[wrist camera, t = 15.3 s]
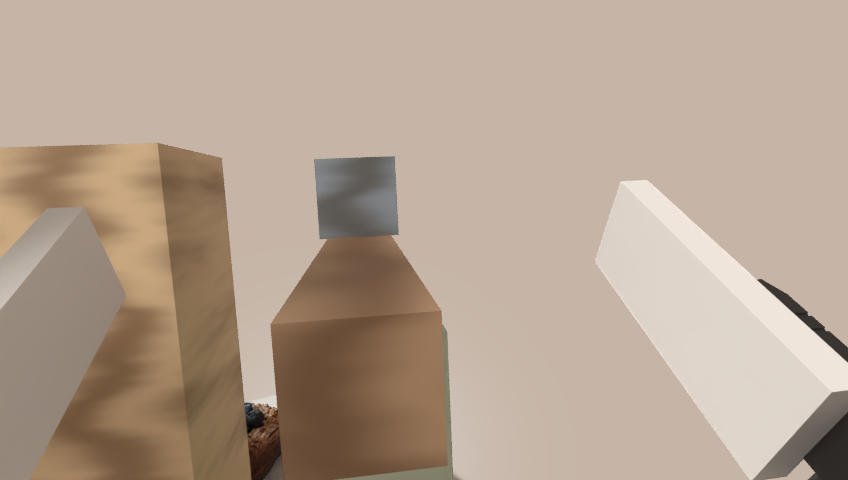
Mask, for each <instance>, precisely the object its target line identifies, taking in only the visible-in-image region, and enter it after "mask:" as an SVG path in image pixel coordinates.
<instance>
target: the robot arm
mask: <svg viewBox="0 0 848 480" xmlns="http://www.w3.org/2000/svg"><path fill="white" fill-rule="evenodd" d="M595 263H596V264H597V266H598V267H599V268H600V270H601V271H602V273H603V274H604V275H605V277H606V278H607V280H608V281H609V282H610V284H611V285H612V287H613V288H614V289H615V291H616V292H617V294H618V295H619V297H620V298H621V299H622V301H623V302H624V304H625V305H626V306H627V308H628V309H629V311H630V312H631V314H632V315H633V316H634V318H635V319H636V321H637V322H638V323H639V325H640V326H641V328H642V329H643V330H644V332H645V333H646V335H647V336H648V337H649V339H650V340H651V342H652V343H653V345H654V346H655V347H656V349H657V350H658V351H659V353H660V354H661V356H662V357H663V359H664V360H665V361H666V363H667V364H668V366H669V367H670V368H671V370H672V371H673V373H674V374H675V376H676V377H677V378H678V380H679V381H680V383H681V384H682V385H683V387H684V388H685V390H686V391H687V393H688V394H689V395H690V397H691V398H692V400H693V401H694V402H695V404H696V405H697V407H698V408H699V409H700V411H701V412H702V414H703V415H704V416H705V418H706V419H707V421H708V422H709V424H710V425H711V426H712V428H713V429H714V431H715V432H716V433H717V435H718V436H719V438H720V439H721V440H722V442H723V443H724V445H725V446H726V447H727V449H728V450H729V452H730V453H731V455H732V456H733V457H734V459H735V460H736V462H737V463H738V464H739V466H740V467H741V468H742V470H743V471H744V473H745V474H746V476H747V477H748V479H749V480H766V479H772V478H779V477H785V476H787V475H788V474H789V473H790V472H791V471H792V470H793V469H794V468H795V467H796V466H797V465H798V464H799V463H800V462H801V461H802V460H803V459H804V460H805V461H806V462H807V463H808V464H809V465H810V467H811V468H812V469H813V470H814V471H815V474H813V476H812V477H810V478H809V479H808V480H848V347H847V346H845V345H844V344H843V343H842V342H841V341H840V340H839V339H837V338H836V337H835V336H834V335H833V334H832V333H831V332H829V331H825V329H824V328H825V327H824V326H823V325H822V324H820V323H819V322H818V321H817V320H816V319H815V318H814V317H812V316H808V314H807V313H808V312H807V311H805V309H803V308H802V307H801V306H800V305H799V304H798V303H797V302H795V301H794V300H793V299H792V298H791V297H790V296H789V295H788V294H786V293H784V292H782V291H780V290H779V289H777V288H776V287H774V286H772V285H770V284H769V283H767V282H765V281H763V280H762V279H759V280H756V279H755V278H754V277H753V276H752V275H751V274H750V273H749V272H748V271H746V270H745V269H744V268H743V267H742V266H741V265H740V264H739V263H738V262H736V261H735V260H734V259H733V258H732V257H731V256H730V255H729V254H728V253H727V252H725V251H724V250H723V249H722V248H721V247H720V246H719V245H718V244H717V243H716V242H715V241H713V240H712V239H711V238H710V237H709V236H708V235H707V234H706V233H705V232H704V231H702V230H701V229H700V228H699V227H698V226H697V225H696V224H695V223H694V222H692V221H691V220H690V219H689V218H688V217H687V216H686V215H685V214H684V213H683V212H681V210H679V209H678V208H677V207H676V206H675V205H674V204H673V203H672V202H671V201H669V200H668V199H667V198H666V197H665V196H664V195H663V194H662V193H661V192H660V191H658V190H657V189H656V188H655V187H654V186H653V185H652V184H651V183H650V182H649V181H647V180H640V181H639V180H638V181H621V182H620V185H619V188H618V191H617V194H616V198H615V201H614V204H613V207H612V210H611V213H610V216H609V219H608V222H607V225H606V228H605V232H604V235H603V238H602V241H601V244H600V247H599V250H598V254H597V256H596V260H595ZM125 297H126V294H125V292H124V290H123V287H122V285H121V283H120V281H119V279H118V277H117V275H116V273H115V270H114V268H113V266H112V264H111V262H110V260H109V258H108V255H107V253H106V251H105V249H104V247H103V245H102V243H101V241H100V238H99V236H98V234H97V232H96V230H95V228H94V226H93V223H92V221H91V219H90V217H89V215H88V213H87V211H86V209H85V206H84V207H62V208H47V209H46V210H45V211H44V212H43V213H42V214H41V216H40V217H39V218H38V219H37V220H36V221H35V222H34V223H33V224H32V225H31V226H30V227H29V228H28V230H27V231H26V232H25V233H24V234H23V235H22V236H21V237H20V238H19V239H18V240H17V241H16V242H15V244H14V245H13V246H12V247H11V248H10V249H9V250H8V251H7V252H6V253H5V254H4V255H3V256H2V258H1V259H0V480H30V478H31V476H32V474H33V472H34V470H35V468H36V466H37V464H38V463H39V461H40V459H41V457H42V455H43V453H44V451H45V449H46V447H47V445H48V444H49V442H50V440H51V438H52V436H53V434H54V432H55V430H56V428H57V426H58V425H59V423H60V421H61V419H62V417H63V415H64V413H65V411H66V409H67V407H68V406H69V404H70V402H71V400H72V398H73V396H74V394H75V392H76V390H77V388H78V387H79V385H80V383H81V381H82V379H83V377H84V375H85V373H86V371H87V370H88V368H89V366H90V364H91V362H92V360H93V358H94V356H95V354H96V352H97V351H98V349H99V347H100V345H101V343H102V341H103V339H104V337H105V335H106V333H107V332H108V330H109V328H110V326H111V324H112V322H113V320H114V318H115V316H116V314H117V313H118V311H119V309H120V307H121V305H122V303H123V301H124V299H125Z"/></svg>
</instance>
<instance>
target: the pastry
mask: <svg viewBox="0 0 848 480" xmlns="http://www.w3.org/2000/svg"><path fill="white" fill-rule="evenodd" d="M244 405H245V416H246V427H247V438H248V448H249V459H250V470H251V480H262V479H263V478H264V477H265V476H266V474H267V473H268V472H269V470H270V468H271V467H272V465H273V463H274V462H275V460H276V458H277V457H278V456H279V455H280V454H281V443H280V431H279V419H278V409H277V408H275V407H272V408H271V407H270V406H268V404H265V405H264V404H263V405H261V404H257V405H254V403H244Z"/></svg>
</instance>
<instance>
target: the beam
mask: <svg viewBox="0 0 848 480" xmlns="http://www.w3.org/2000/svg"><path fill="white" fill-rule="evenodd" d="M314 163H315V177H316V191H317V204H318V205H317V206H318V219H319V234H320V239H327V241H326V242H325V244H324V245H323V247H322V248H321V250H320V251H319V253H318V254H317V256H316V257H315V259H314V260H313V262H312V263H311V265H310V266H309V268H308V269H307V271H306V272H305V274H304V275H303V277H302V278H301V280H300V281H299V283H298V284H297V286H296V287H295V289H294V290H293V292H292V293H291V295H290V296H289V298H288V299H287V301H286V302H285V304H284V305H283V307H282V308H281V309H280V311H279V313H278V314H277V315H276V317H275V319H274V320H273V321H272V323H271V336H272V348H273V358H274V359H273V360H274V372H275V382H276V383H275V384H276V396H277V408H278V419H279V431H280V443H281V455H282V467H283V479H284V480H337V479H345V478H353V477H361V476H369V475H377V474H386V473H394V472H402V471H410V470H418V469H426V468H434V467H442V466H448V463H447V438H446V414H445V389H444V365H443V340H442V316H441V310H440V308H439V307H438V305H437V304H436V302H435V301H434V299H433V298H432V296H431V295H430V293H429V292H428V290H427V289H426V287H425V286H424V284H423V283H422V281H421V280H420V279H419V277H418V275H417V274H416V272H415V271H414V269H413V268H412V266H411V265H410V263H409V262H408V260H407V259H406V257H405V256H404V254H403V253H402V251H401V250H400V248H399V247H398V245H397V244H396V242H395V241H394V239H393V238H392V236H391V235H398V214H397V194H396V177H395V176H396V174H395V157H365V158H339V159H338V158H336V159H315V160H314Z"/></svg>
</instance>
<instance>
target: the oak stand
mask: <svg viewBox="0 0 848 480" xmlns="http://www.w3.org/2000/svg"><path fill="white" fill-rule="evenodd" d="M84 206H85V209H86V211H87V213H88V215H89V217H90V219H91V221H92V223H93V226H94V228H95V230H96V232H97V234H98V236H99V238H100V241H101V243H102V245H103V247H104V249H105V251H106V253H107V255H108V258H109V260H110V262H111V264H112V266H113V268H114V270H115V273H116V275H117V277H118V279H119V281H120V283H121V285H122V287H123V290H124V292H125V294H126V297H125V299H124V301H123V303H122V305H121V307H120V309H119V311H118V313H117V314H116V316H115V318H114V320H113V322H112V324H111V326H110V328H109V330H108V332H107V333H106V335H105V337H104V339H103V341H102V343H101V345H100V347H99V349H98V351H97V352H96V354H95V356H94V358H93V360H92V362H91V364H90V366H89V368H88V370H87V371H86V373H85V375H84V377H83V379H82V381H81V383H80V385H79V387H78V388H77V390H76V392H75V394H74V396H73V398H72V400H71V402H70V404H69V406H68V407H67V409H66V411H65V413H64V415H63V417H62V419H61V421H60V423H59V425H58V426H57V428H56V430H55V432H54V434H53V436H52V438H51V440H50V442H49V444H48V445H47V447H46V449H45V451H44V453H43V455H42V457H41V459H40V461H39V463H38V464H37V466H36V468H35V470H34V472H33V474H32V476H31V478H30V480H251V470H250V459H249V448H248V438H247V427H246V416H245V405H244V394H243V383H242V373H241V362H240V352H239V340H238V330H237V319H236V308H235V297H234V286H233V276H232V264H231V254H230V243H229V232H228V221H227V210H226V200H225V189H224V178H223V167H222V158H219V157H215V156H211V155H206V154H202V153H198V152H194V151H189V150H185V149H181V148H176V147H172V146H168V145H164V144H159V143H144V144H110V145H76V146H45V147H43V146H42V147H8V148H0V259H1V258H2V256H3V255H4V254H5V253H6V252H7V251H8V250H9V249H10V248H11V247H12V246H13V245H14V244H15V242H16V241H17V240H18V239H19V238H20V237H21V236H22V235H23V234H24V233H25V232H26V231H27V230H28V228H29V227H30V226H31V225H32V224H33V223H34V222H35V221H36V220H37V219H38V218H39V217H40V216H41V214H42V213H43V212H44V211H45V210H46V209H47V208H62V207H84Z"/></svg>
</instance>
